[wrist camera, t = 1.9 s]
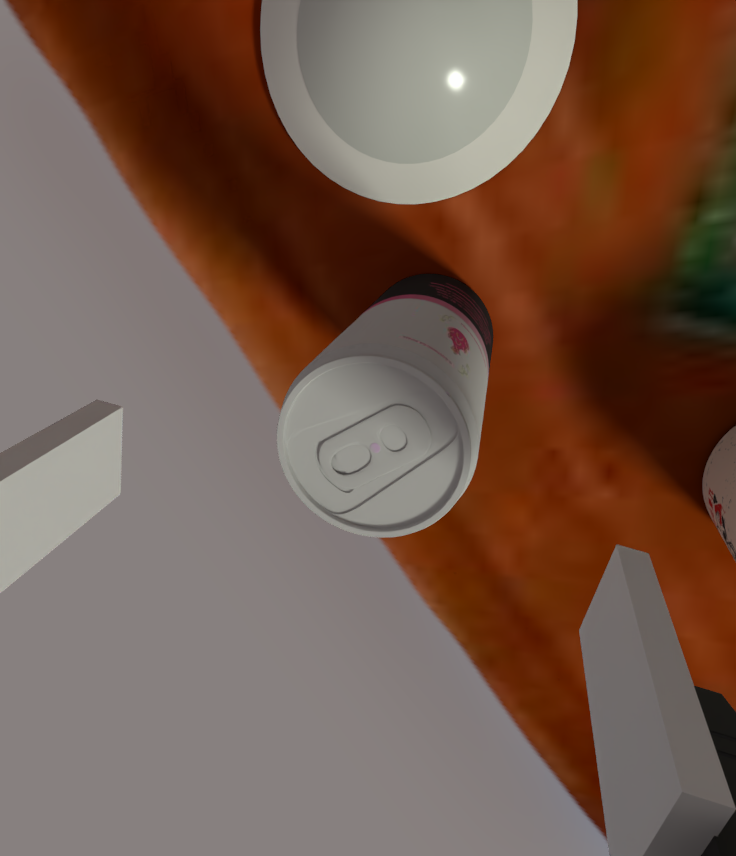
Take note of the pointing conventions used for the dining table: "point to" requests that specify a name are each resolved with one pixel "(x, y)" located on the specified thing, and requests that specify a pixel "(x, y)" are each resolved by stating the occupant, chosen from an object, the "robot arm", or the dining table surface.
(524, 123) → the plate
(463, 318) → the beverage can
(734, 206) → the dining table surface
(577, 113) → the dining table surface
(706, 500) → the teacup with lid
